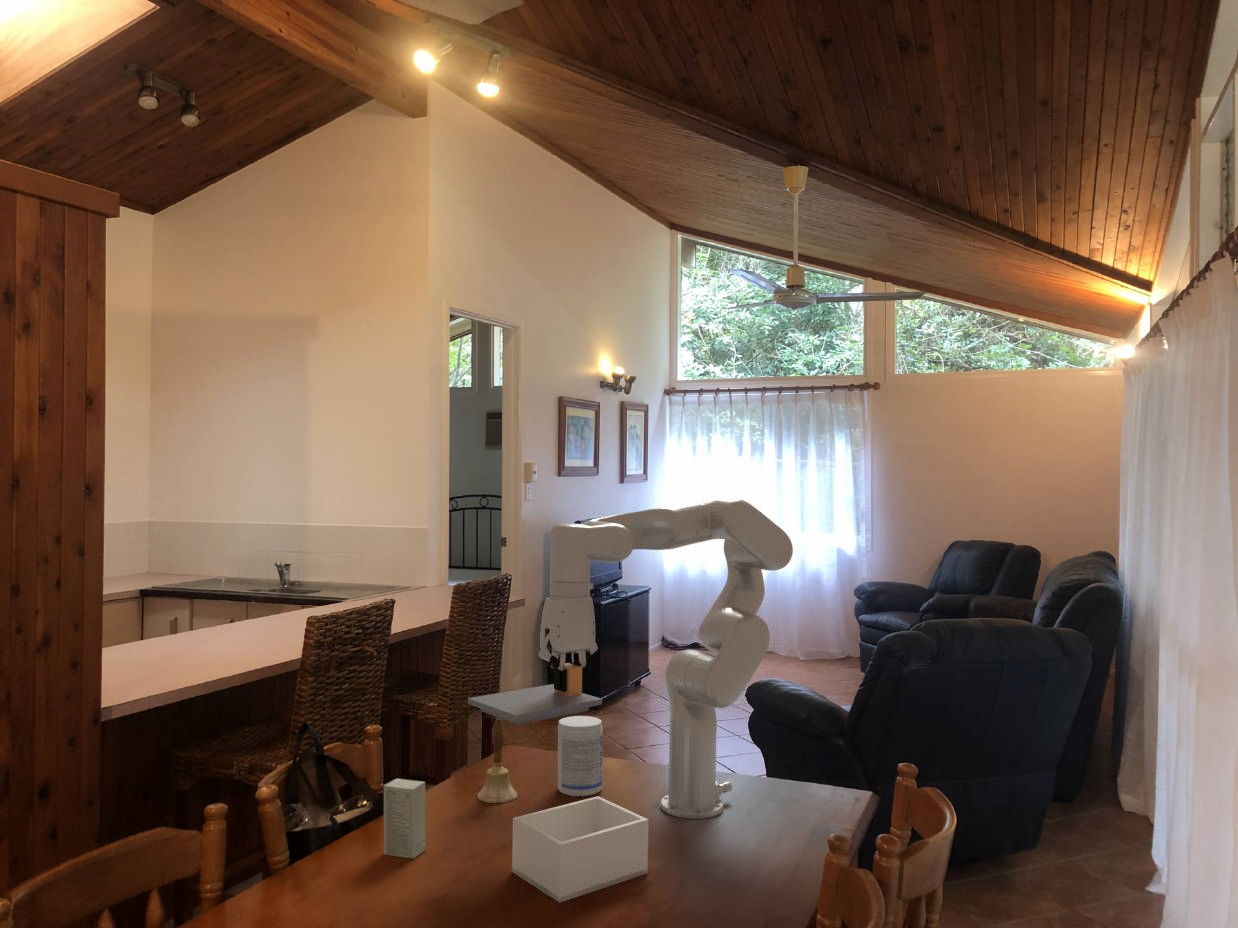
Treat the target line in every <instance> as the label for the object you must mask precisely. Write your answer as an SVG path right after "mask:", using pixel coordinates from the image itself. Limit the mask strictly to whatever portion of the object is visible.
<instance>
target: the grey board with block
mask: <svg viewBox="0 0 1238 928" xmlns="http://www.w3.org/2000/svg"><path fill="white" fill-rule="evenodd" d="M564 669H565V670H567V690H566V692H561V691H558V690H555V689H554V683H552V684H551V683H550V684H545V685H540V686H539V685H538V686H533V687H527V688H522V689H516V690H510V691H509V690H508V691H504V692H498V693H491V694H485V695H480V696H473V697H467V705H470V706H473V707H475V708H479V709H480V712H482V713H485V714H488V715H489V716H490V715H491V716H493V717H496V718H497V719H498V718H500V719H502V720H504V721H507V722H510V723H512V724H515V725H518V726H519V725H522V724H527V723H533V722H538V721H542V720H543V721H544V720H548V719H553V718H559V717H563V716H568V715H573V714H578V713H584V712H588V711H590V708H591V707H597V706H601V705H603V698H600V697H597V696H594V695H590V694H587V693H583V683H582V667H581V666H577V665H574V664H573V663H570V662H567V663H566V662H565V668H564Z"/></svg>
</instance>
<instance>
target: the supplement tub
mask: <svg viewBox="0 0 1238 928" xmlns="http://www.w3.org/2000/svg"><path fill="white" fill-rule="evenodd" d="M603 744H604V743H603V722H602V720H601V719H600V718H599V717H594V716H589V715H574V716H573V715H572V716H567V717H566V716H565V717H563V718H561V719H559V720H558V727H557V789H558V791H559V792H560V793H562V794H563V795H566V796H571V797H577V796H578V798H579V796H581V797H589V796H590V797H591V796H594V795H596V794H598V793H599V792H601V791H602V788H603Z"/></svg>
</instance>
